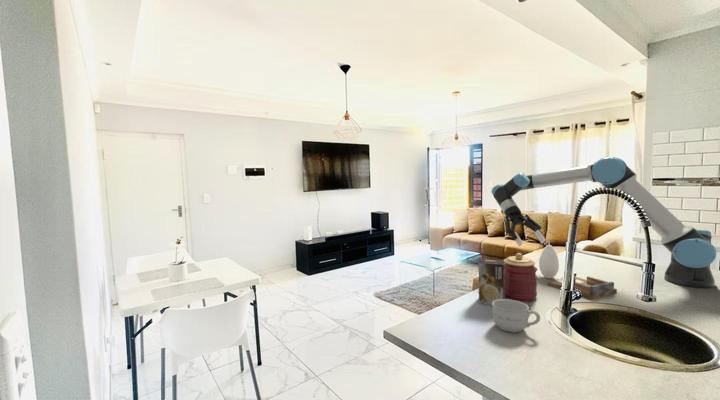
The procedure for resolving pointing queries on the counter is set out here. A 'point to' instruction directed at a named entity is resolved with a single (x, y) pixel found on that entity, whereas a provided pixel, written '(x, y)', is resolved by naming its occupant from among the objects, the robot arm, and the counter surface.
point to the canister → (520, 278)
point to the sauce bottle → (548, 262)
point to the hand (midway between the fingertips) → (532, 243)
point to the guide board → (589, 287)
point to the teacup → (512, 315)
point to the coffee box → (491, 280)
